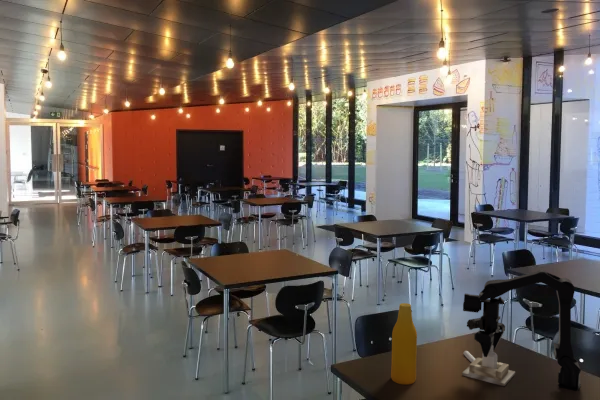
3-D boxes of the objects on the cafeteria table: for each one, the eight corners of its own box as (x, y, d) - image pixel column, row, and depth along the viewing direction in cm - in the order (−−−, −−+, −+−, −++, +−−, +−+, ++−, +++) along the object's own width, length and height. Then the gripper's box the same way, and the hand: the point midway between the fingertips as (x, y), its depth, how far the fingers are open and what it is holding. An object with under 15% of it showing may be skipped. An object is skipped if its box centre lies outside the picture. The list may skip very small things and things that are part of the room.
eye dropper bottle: (487, 375, 203) (488, 344, 202) (480, 369, 209) (481, 339, 208) (498, 374, 204) (499, 344, 203) (490, 369, 209) (491, 339, 208)
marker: (463, 354, 230) (478, 369, 214) (459, 352, 230) (474, 366, 214) (467, 349, 230) (482, 363, 214) (462, 347, 230) (477, 361, 214)
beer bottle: (386, 376, 204) (388, 302, 201) (407, 373, 207) (409, 300, 204) (399, 386, 195) (401, 309, 193) (420, 383, 198) (422, 306, 196)
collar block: (515, 374, 207) (515, 364, 207) (504, 386, 196) (505, 375, 196) (474, 364, 217) (474, 354, 216) (462, 375, 206) (462, 365, 205)
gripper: (478, 304, 217) (476, 342, 218) (461, 315, 202) (460, 355, 203) (506, 309, 210) (504, 348, 211) (491, 321, 195) (489, 362, 196)
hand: (489, 353), depth 206 cm, fingers open, 9 cm apart
